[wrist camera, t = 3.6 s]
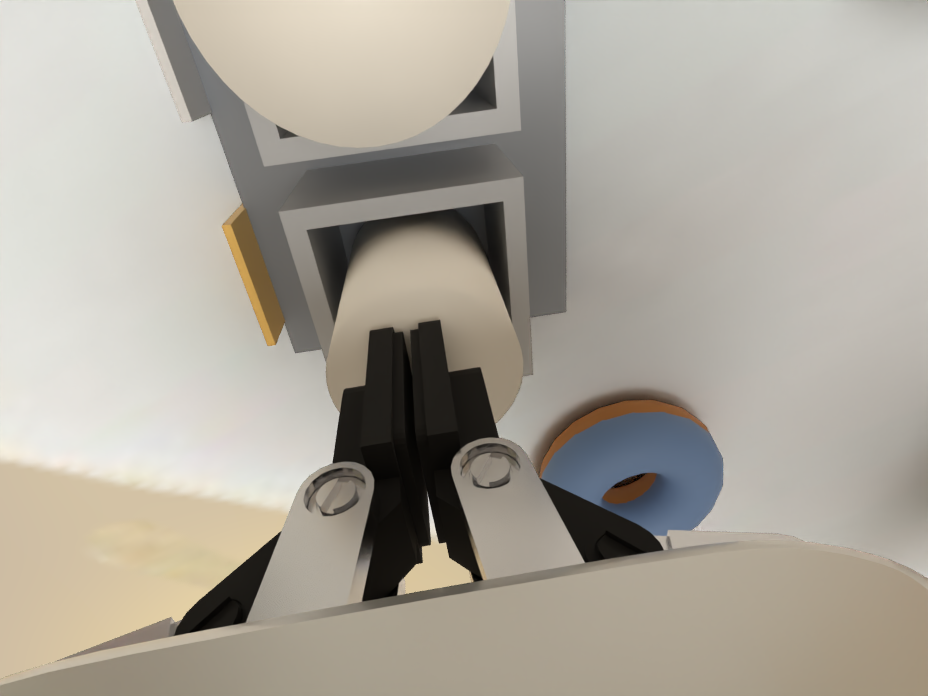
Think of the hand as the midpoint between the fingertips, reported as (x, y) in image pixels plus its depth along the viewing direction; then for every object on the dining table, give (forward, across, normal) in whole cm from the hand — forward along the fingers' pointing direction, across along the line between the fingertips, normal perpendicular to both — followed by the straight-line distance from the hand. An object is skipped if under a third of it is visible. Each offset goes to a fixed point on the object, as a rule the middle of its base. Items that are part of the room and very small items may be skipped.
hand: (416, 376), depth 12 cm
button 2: (+7, 0, 0) cm, 7 cm away
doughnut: (+10, -10, +15) cm, 21 cm away
